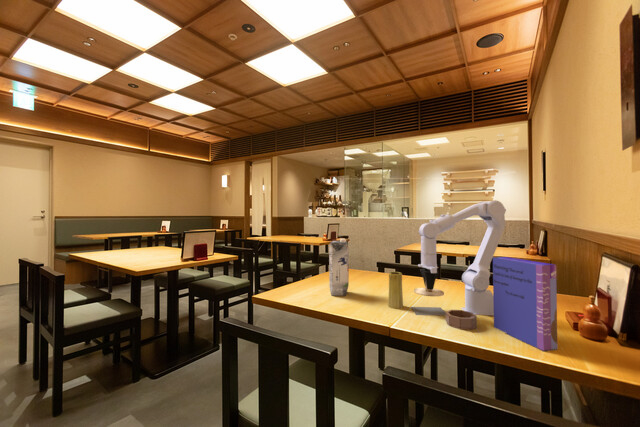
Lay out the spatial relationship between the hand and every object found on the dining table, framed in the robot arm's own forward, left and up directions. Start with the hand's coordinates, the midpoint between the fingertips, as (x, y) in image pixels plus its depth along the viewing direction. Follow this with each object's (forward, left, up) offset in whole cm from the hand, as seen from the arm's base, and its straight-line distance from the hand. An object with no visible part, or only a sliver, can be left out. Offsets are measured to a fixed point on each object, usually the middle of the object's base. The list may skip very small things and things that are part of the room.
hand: (429, 288), depth 115 cm
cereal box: (-22, +23, -10) cm, 33 cm away
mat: (0, 0, -9) cm, 9 cm away
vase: (+12, -5, -10) cm, 16 cm away
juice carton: (+36, -25, -10) cm, 45 cm away
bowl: (-7, +14, -9) cm, 18 cm away
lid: (0, 0, -2) cm, 2 cm away
